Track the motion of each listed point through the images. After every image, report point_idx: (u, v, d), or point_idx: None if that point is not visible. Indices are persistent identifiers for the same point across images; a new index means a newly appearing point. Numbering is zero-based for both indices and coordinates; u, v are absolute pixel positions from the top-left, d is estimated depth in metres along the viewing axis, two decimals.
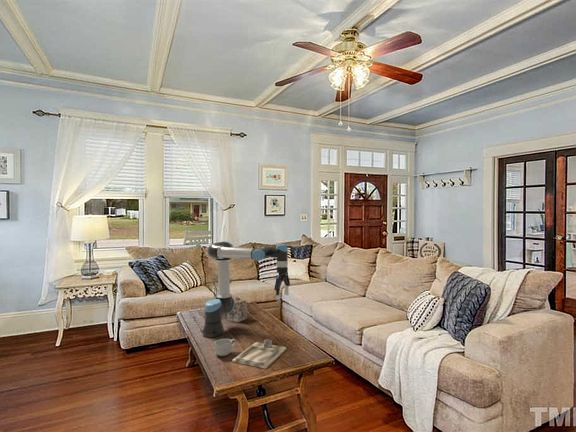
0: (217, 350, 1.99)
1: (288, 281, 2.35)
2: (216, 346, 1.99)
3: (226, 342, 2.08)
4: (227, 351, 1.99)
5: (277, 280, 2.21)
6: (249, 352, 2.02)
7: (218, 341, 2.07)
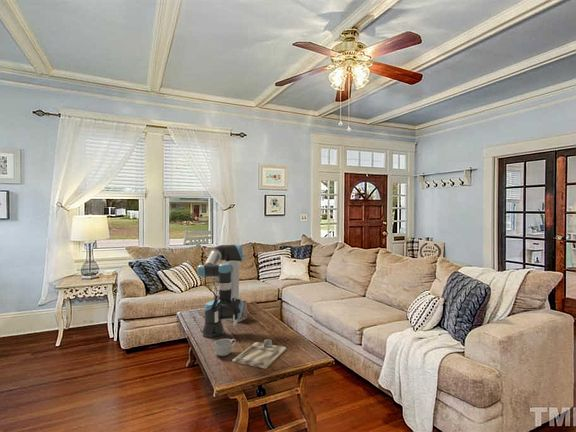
0: (217, 350, 1.99)
1: (235, 310, 2.00)
2: (216, 346, 1.99)
3: (226, 342, 2.08)
4: (227, 351, 1.99)
5: None
6: (249, 352, 2.02)
7: (218, 341, 2.07)
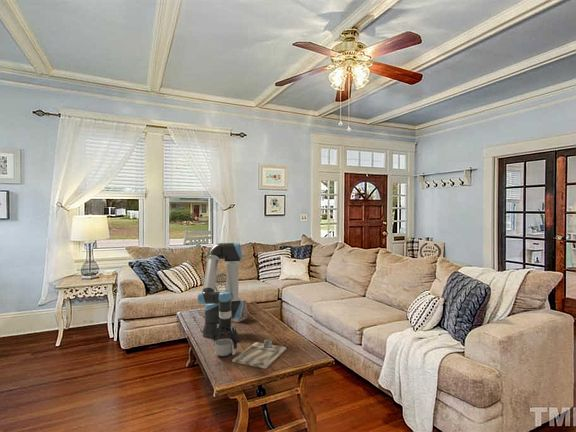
0: (217, 350, 1.99)
1: (235, 339, 2.00)
2: (216, 346, 1.99)
3: (227, 342, 2.08)
4: (227, 351, 1.99)
5: None
6: (249, 352, 2.02)
7: (219, 341, 2.06)
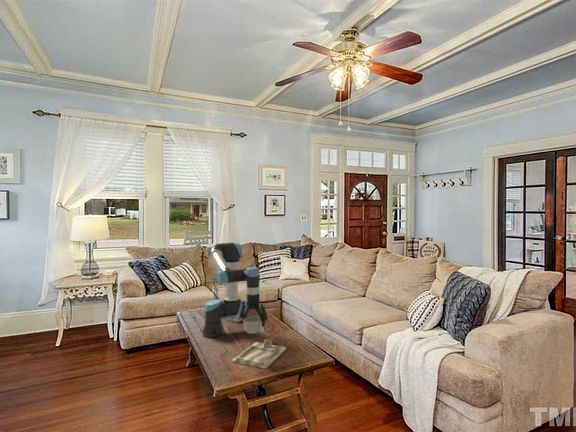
0: (246, 327, 1.92)
1: (263, 316, 1.93)
2: (245, 323, 1.92)
3: (255, 320, 2.01)
4: (256, 328, 1.92)
5: None
6: (249, 352, 2.02)
7: (247, 319, 1.99)
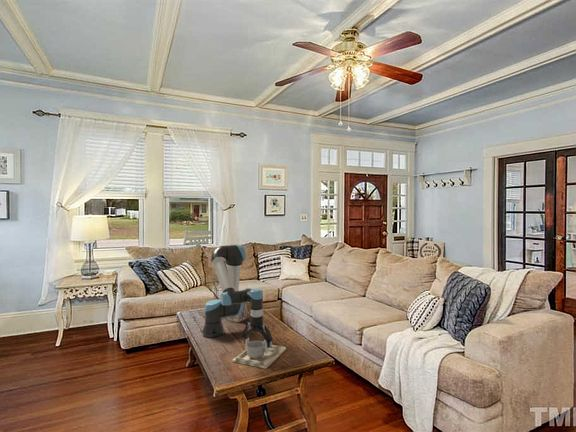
0: (250, 353, 1.92)
1: (268, 337, 1.93)
2: (249, 348, 1.92)
3: (258, 344, 2.01)
4: (260, 354, 1.92)
5: None
6: None
7: (250, 343, 2.00)
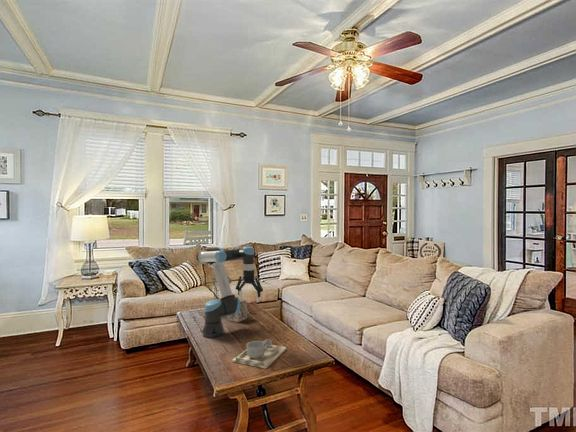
0: (250, 353, 1.92)
1: (258, 288, 2.20)
2: (249, 348, 1.92)
3: (258, 344, 2.01)
4: (260, 354, 1.92)
5: None
6: None
7: (250, 343, 2.00)
